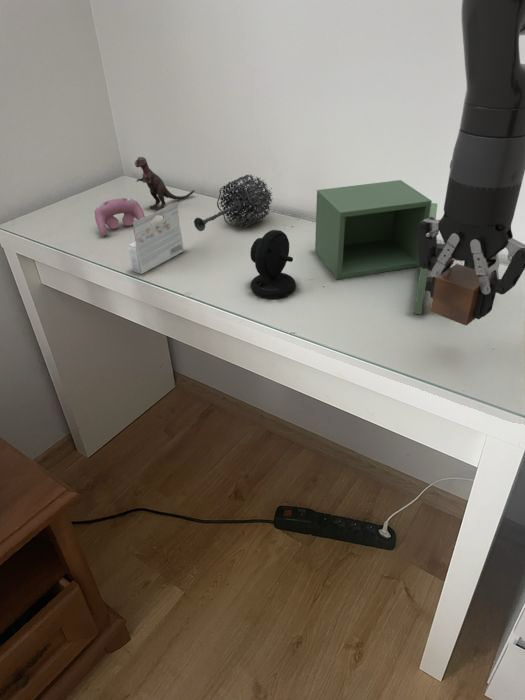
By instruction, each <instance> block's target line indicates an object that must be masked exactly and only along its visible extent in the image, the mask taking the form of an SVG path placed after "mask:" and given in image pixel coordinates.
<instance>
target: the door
mask: <svg viewBox="0 0 525 700" xmlns="http://www.w3.org/2000/svg"><path fill="white" fill-rule="evenodd" d="M437 211H438V203H436V202H432V203H431V206H430V212H429V217H433V218H434V219H435V220H437V213H438V212H437ZM444 247H445V243H438V242H437V252H438V257H439V255H440V253H441V252H442V250H443V248H444ZM455 261H459V262H460V261H461V262H464V263H463V266H466V267H469V268H472V269H475V265H473V264H470V263H469V262H467V261H465V260H457V259H456V260H455ZM429 272H430V271H429V270H428V269H427V268H426V269H423V268H421V267H420V269H419V277H418V283H417V290H416V297H415V303H414V304H415V305H414V311H413V314H414V315H415V314H416V315H422V311H423V305H424V299H425V293H426V292H430V290H431V284H432V278H433V276H429Z"/></svg>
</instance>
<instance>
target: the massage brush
mask: <svg viewBox="0 0 525 700" xmlns="http://www.w3.org/2000/svg"><path fill="white" fill-rule="evenodd" d="M261 178H262V177H258V176H256V177H255V175H252V174H245V175H244V176H241V177H238V178H236V179H234V180H232V181H228V183H226V184H225V185H223V186H222V187H221V188H220V189H219V196H218V198H217V201H216V206H217V208H218V210H219V211H218V212H217V214H214V215H212V216H209V217H207V218H204V219H202V218H201V217H195V218H194V220H193V224H194V227H195V229H196V230H197V231H198V232H203V231H204V230H205V229H206V225H207V223H209V222H211V221H214V220H216V219H217V218H219V217H221V216H222V217H223V220H224V222H225V223H226V224H227V225H229V226H234V227H235V228H237V229H239V230H241V229H244V228H247V227H250V226H251V225H253V224H255V223H257V222H259V221H261V220H263V219H264V218H266V217H267V216H268V215H270V210H271V207H272V206H271V204H273V200H274V198H273V197H272V196H273V192H272V191H271V190H272V189H273V188H272V187H270V189H269V186H268V184H267V182H264V180H261ZM219 201H220V202H219ZM221 208H222V209H221Z"/></svg>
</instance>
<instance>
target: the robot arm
mask: <svg viewBox="0 0 525 700" xmlns="http://www.w3.org/2000/svg"><path fill="white" fill-rule="evenodd" d="M460 10H461V11H460V12H461V13H460V14H461V15H460V16H461V19H460V20H461V33H462V45H463V57H464V71H465V81H466V90H465V94H464V101H463V106H462V112H461V117H460V118H461V119H460V125H459V129H458V134H457V137H456V141H455V144H454V147H453V152H452V157H451V160H450V163H449V175H448V180H447V186H446V192H445V199H444V204H443V215H442V217H441V218H440V219H436V220H435V219H434V218H433V217H429V218H427V219H425V220H423V221H421V222H420V223H418V224H417V239H418V252H419V265H420V266H419V267H420V268H423V269H426V268H427V269H428V270H429V271H428V272H430V273H431V277H433V278H432V284H431V290H430V291H429V295H430V298H431V299H433V293H434V287H435V281H436V277H437V276H439V275H440V274H442V273H443V272H445V271H446V270H448V269H449V268H451V267H452V266H453V264H454V263H455V261H459V260H465V261H467V262H469V263H470V264H473V265H475V272H476V275H477V276H478V277H479V283H480V290H481V291H480V292H479V293H478V298H477V302H476V306H475V311H474V315H473V318H476V320H479V321H480V320H481V319H482V318H484V317H486V316H487V315H489V314H490V312H491V311H492V310H493V306H494V302H495V299H496V294H499V295H505V294H506V293H507V292H509V291H510V290H511V289H513V288H514V287H516V285H517V283H518V282H519V280H520V278H521V276H522V274H523V273H524V271H525V243H523V242H521V241H519V240H517V239H515V238H514V236H513V231H512V224H513V221H514V216H515V212H516V208H517V204H518V200H519V197H520V192H521V189H522V184H523V180H524V176H525V63H521V55H520V37H521V36H525V0H461V9H460ZM439 234H440V235H441V238H442V240H443V242H444V243H443V244H445V247H444V248H443V250H442V252H441V253H440V255H439V257H438V252H437V243H438V238H437V236H438V235H439ZM505 249H506V250H507V261H509V264H508V265H507V267H506V269H505V271H504V273H503V275H502V277H501V278H500V275H499V274H500V273H499V268H500V259H499V253H500V252H501V251H503V250H505ZM456 259H457V260H456ZM465 261H464V262H465Z"/></svg>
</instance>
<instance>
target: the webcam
mask: <svg viewBox="0 0 525 700" xmlns="http://www.w3.org/2000/svg"><path fill="white" fill-rule="evenodd" d="M289 254H290V241H289V238H288V236H287V234H286V233H285V232H283V230H279V229H271V230H269V231H267V232H266V233H264V235H263V236H262V237H258V238H257V239H255V240H254V241H253V243H252V245H251V248H250V260H251V261H252V262H253V263H254V266H255V269H256V272H257V273H258V275H256V276H255V277H253V279H252V280H251V282H250V289H251V291H252V293H253V294H255V295H256V296H258V297H260V298H263V299H269V300H270V299H274V300H275V299H281V298H284V297H287V296H290V295H291V294H292V293H294V291H295V290H296V287H297V283H296V280H295V278H294V277H293V276H291V275H289V274H287V273H285V272H283V270H284V269H285V267H286V265H287V262H289V263H292V262H293V261H294V257H291V256H289ZM261 284H267V285H270V286H272V287H274V288H275V289H267V288H263V287H262V286H260V285H261Z"/></svg>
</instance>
